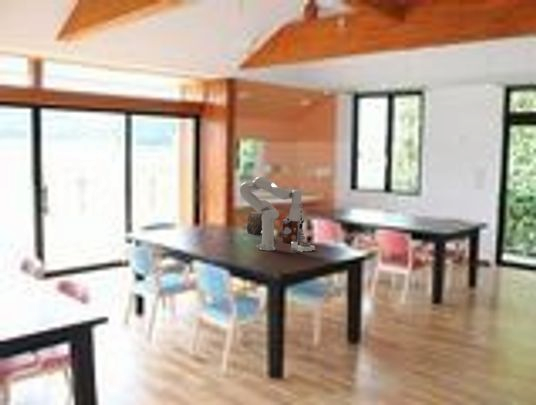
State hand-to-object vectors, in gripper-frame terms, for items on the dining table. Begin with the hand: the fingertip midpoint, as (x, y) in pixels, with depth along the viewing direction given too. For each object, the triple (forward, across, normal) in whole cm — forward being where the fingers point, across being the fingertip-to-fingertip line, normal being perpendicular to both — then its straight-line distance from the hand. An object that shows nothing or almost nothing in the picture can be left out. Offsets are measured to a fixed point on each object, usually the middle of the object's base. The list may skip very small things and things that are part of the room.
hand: (295, 227), depth 438 cm
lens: (+20, 0, 0) cm, 20 cm away
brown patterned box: (+20, +26, -38) cm, 50 cm away
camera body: (+20, 0, -15) cm, 24 cm away
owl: (+19, +78, -50) cm, 95 cm away
